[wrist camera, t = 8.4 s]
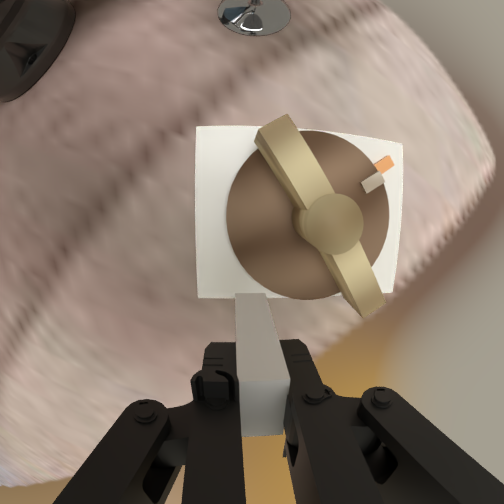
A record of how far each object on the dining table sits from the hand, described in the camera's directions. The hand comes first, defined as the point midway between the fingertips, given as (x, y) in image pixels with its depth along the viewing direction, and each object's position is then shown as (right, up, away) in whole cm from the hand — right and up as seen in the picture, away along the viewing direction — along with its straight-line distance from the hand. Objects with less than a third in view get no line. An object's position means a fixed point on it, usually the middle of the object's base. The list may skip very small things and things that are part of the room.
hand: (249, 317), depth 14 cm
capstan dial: (+5, +6, +8) cm, 11 cm away
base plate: (+5, +7, +9) cm, 12 cm away
